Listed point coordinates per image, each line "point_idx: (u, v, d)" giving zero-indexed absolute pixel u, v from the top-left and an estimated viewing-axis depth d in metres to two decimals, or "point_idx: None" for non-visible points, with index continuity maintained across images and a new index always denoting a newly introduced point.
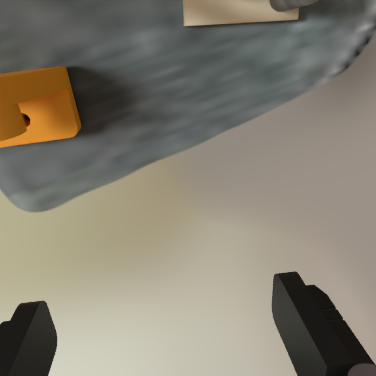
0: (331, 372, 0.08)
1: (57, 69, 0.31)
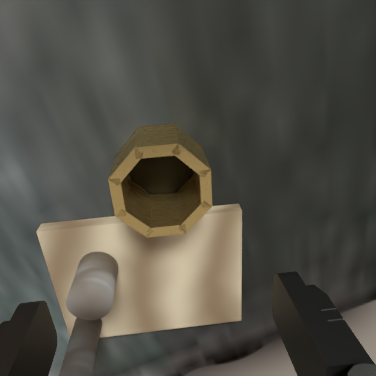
0: (331, 372, 0.08)
1: None
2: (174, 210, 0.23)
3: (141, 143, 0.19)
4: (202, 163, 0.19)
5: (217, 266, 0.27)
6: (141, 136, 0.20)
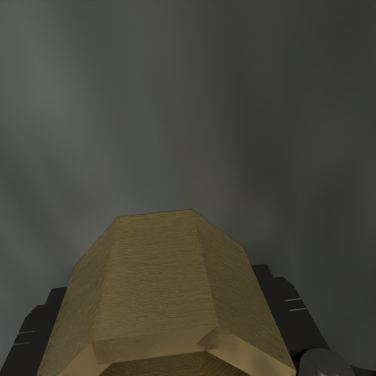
0: None
1: None
2: None
3: (114, 312, 0.07)
4: (276, 360, 0.07)
5: None
6: (118, 267, 0.08)
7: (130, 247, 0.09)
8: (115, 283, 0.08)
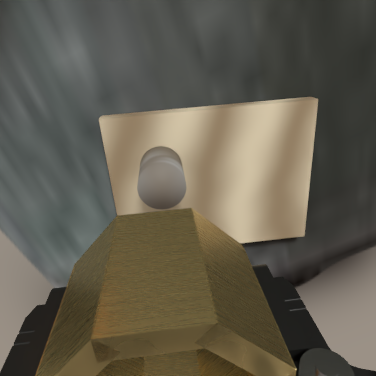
0: None
1: None
2: None
3: (113, 310, 0.07)
4: (276, 358, 0.07)
5: (285, 168, 0.25)
6: (118, 265, 0.08)
7: (130, 245, 0.09)
8: (115, 281, 0.08)
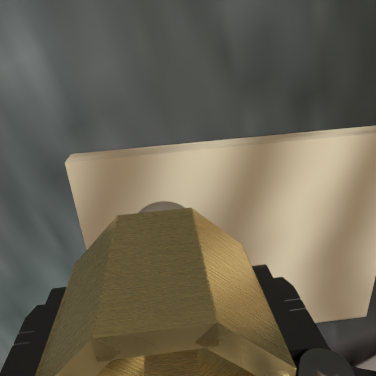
0: None
1: None
2: None
3: (114, 309, 0.07)
4: (276, 357, 0.07)
5: (349, 229, 0.17)
6: (118, 264, 0.08)
7: (130, 245, 0.09)
8: (115, 281, 0.08)
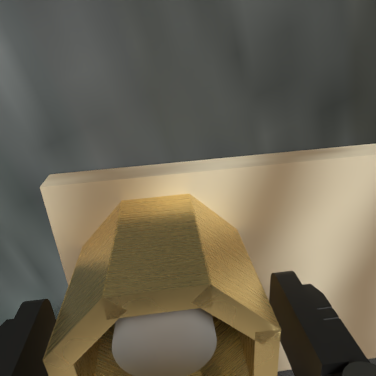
0: (326, 370, 0.08)
1: None
2: None
3: (121, 276, 0.08)
4: (263, 318, 0.08)
5: None
6: (123, 240, 0.09)
7: (134, 225, 0.10)
8: (121, 253, 0.09)
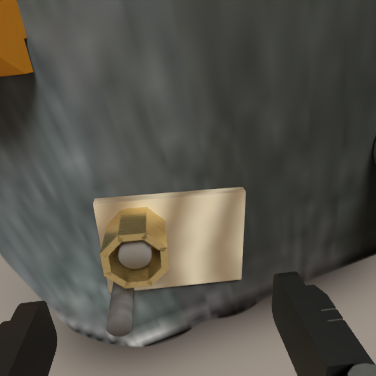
0: (331, 372, 0.08)
1: (19, 71, 0.25)
2: (145, 267, 0.33)
3: (122, 231, 0.29)
4: (161, 244, 0.29)
5: (225, 234, 0.36)
6: (122, 222, 0.31)
7: (126, 217, 0.31)
8: (122, 225, 0.30)
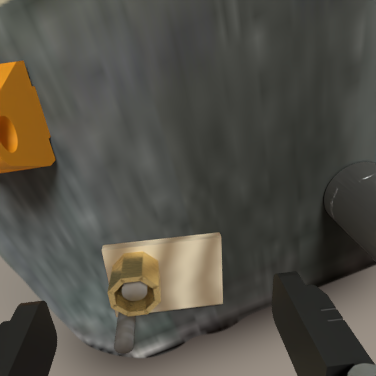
0: (331, 372, 0.08)
1: (46, 165, 0.34)
2: (143, 298, 0.42)
3: (124, 274, 0.38)
4: (154, 283, 0.39)
5: (207, 269, 0.45)
6: (124, 266, 0.40)
7: (127, 261, 0.41)
8: (124, 269, 0.39)
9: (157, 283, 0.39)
